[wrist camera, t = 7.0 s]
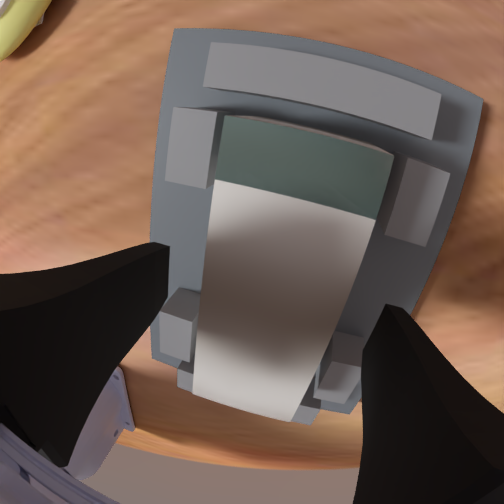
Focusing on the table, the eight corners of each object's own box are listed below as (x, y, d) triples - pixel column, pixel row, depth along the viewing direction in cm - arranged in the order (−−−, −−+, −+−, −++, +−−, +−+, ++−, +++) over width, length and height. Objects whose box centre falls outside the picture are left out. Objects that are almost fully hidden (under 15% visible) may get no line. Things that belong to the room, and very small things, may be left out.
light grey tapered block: (301, 356, 14) (289, 422, 11) (222, 333, 15) (192, 393, 11) (370, 143, 10) (394, 155, 6) (259, 116, 10) (224, 115, 7)
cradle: (349, 401, 16) (348, 442, 14) (159, 347, 18) (136, 380, 15) (472, 99, 9) (509, 98, 6) (185, 33, 10) (148, 16, 8)
